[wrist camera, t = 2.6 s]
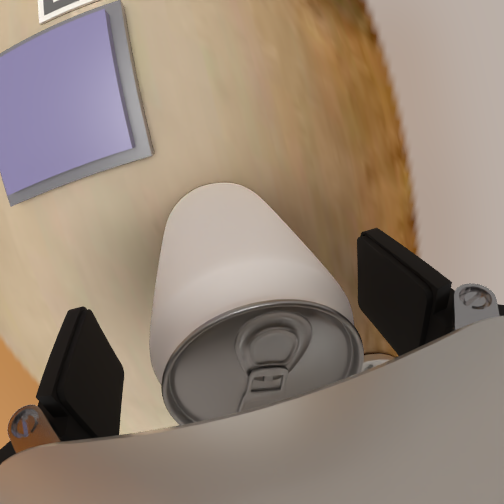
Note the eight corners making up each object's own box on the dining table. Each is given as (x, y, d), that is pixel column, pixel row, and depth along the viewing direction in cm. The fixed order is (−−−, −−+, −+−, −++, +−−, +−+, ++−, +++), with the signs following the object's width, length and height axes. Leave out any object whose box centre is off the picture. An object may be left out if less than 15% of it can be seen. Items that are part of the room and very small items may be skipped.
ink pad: (124, 6, 12) (116, -7, 11) (154, 153, 16) (149, 157, 14) (-10, 67, 12) (-28, 64, 10) (19, 201, 15) (2, 211, 13)
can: (280, 184, 18) (406, 280, 8) (267, 284, 21) (342, 437, 10) (165, 178, 17) (131, 283, 6) (164, 283, 19) (157, 456, 9)
